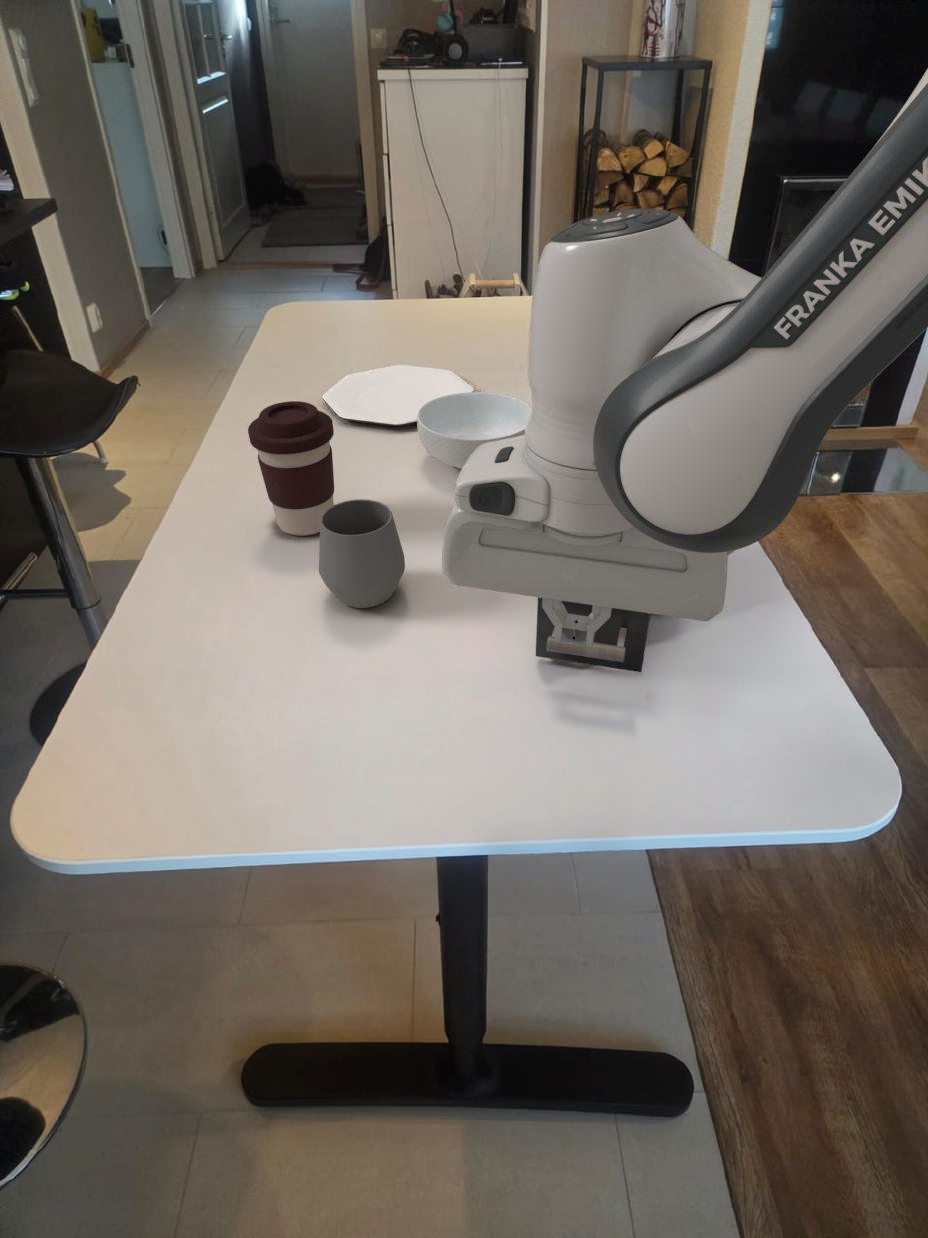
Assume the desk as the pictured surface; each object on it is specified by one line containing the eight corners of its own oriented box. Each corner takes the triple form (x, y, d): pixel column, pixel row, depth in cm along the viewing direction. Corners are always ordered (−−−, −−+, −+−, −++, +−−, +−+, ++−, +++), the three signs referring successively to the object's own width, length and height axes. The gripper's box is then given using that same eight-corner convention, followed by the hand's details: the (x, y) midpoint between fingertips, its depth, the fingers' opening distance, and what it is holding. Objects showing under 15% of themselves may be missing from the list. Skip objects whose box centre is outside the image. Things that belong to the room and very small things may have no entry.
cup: (408, 616, 87) (402, 537, 80) (321, 622, 86) (308, 543, 80) (405, 567, 94) (399, 492, 88) (326, 573, 94) (314, 497, 87)
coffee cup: (270, 506, 106) (249, 398, 97) (345, 500, 107) (331, 392, 98) (264, 546, 98) (241, 432, 89) (345, 539, 99) (330, 426, 90)
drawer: (637, 702, 74) (647, 636, 69) (526, 684, 76) (529, 619, 71) (651, 598, 87) (660, 536, 82) (556, 585, 89) (560, 525, 84)
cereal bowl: (547, 480, 110) (549, 432, 106) (428, 493, 108) (425, 444, 104) (519, 429, 123) (520, 384, 119) (412, 439, 121) (409, 394, 117)
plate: (494, 411, 129) (494, 402, 128) (356, 442, 121) (355, 433, 120) (434, 365, 146) (433, 357, 145) (309, 390, 138) (308, 381, 137)
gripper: (751, 474, 53) (714, 635, 62) (456, 443, 58) (459, 598, 66) (752, 522, 49) (712, 689, 57) (431, 484, 53) (438, 645, 61)
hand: (574, 640), depth 62 cm, fingers closed
